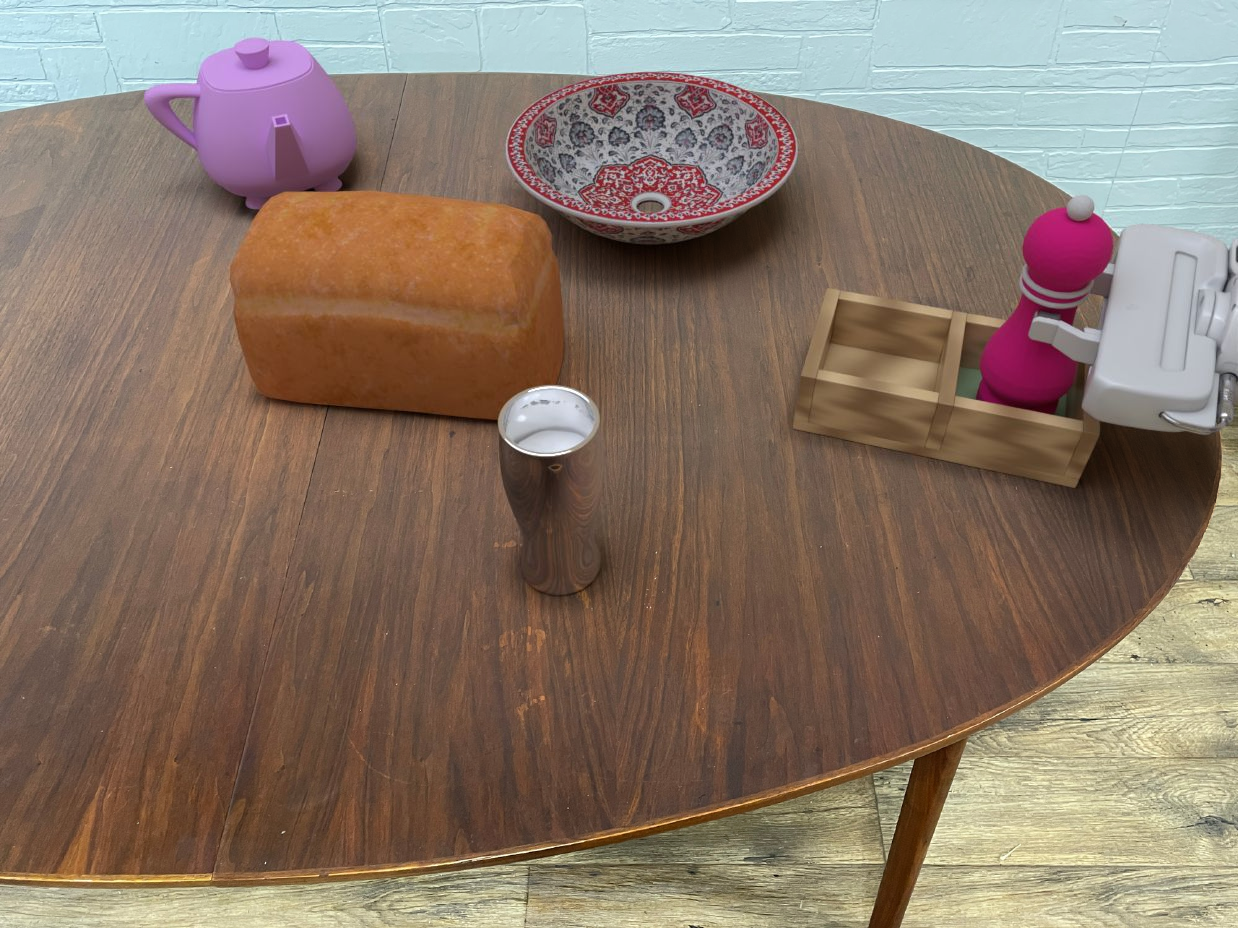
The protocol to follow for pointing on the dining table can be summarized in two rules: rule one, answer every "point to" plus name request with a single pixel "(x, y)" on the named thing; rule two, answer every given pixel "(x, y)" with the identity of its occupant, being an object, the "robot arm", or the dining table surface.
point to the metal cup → (554, 484)
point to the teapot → (263, 120)
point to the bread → (398, 302)
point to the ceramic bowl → (651, 154)
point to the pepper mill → (1046, 307)
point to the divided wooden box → (931, 391)
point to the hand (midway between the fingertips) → (1037, 298)
